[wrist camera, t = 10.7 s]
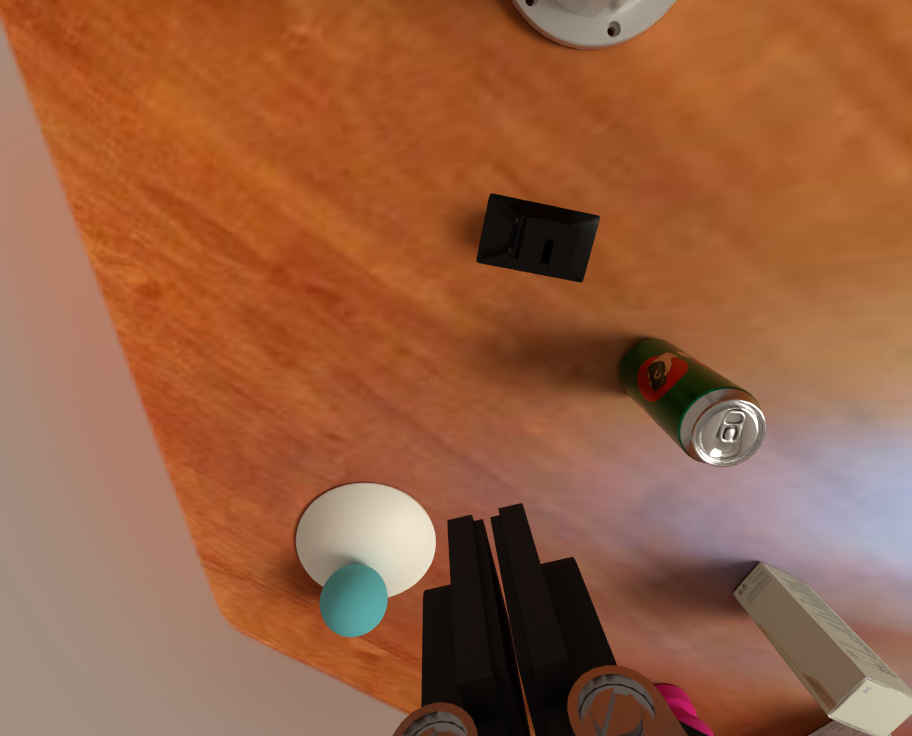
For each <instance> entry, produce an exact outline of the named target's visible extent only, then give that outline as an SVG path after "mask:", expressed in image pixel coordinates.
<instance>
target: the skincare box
mask: <svg viewBox="0 0 912 736" xmlns="http://www.w3.org/2000/svg"><path fill="white" fill-rule="evenodd" d="M733 595H734V596H735V597H736V599H737V600H738V601H739V603H740V604H741V605H742V606H743V608H744V609H745V610H746V611H747V613H748V614H749V615H750V617H751V618H752V619H753V620H754V622H755V623H756V624H757V626H758V627H759V628H760V629H761V631H762V632H763V633H764V635H765V636H766V637H767V638H768V640H769V641H770V642H771V644H772V645H773V646H774V647H775V649H776V650H777V651H778V653H779V654H780V655H781V656H782V658H783V659H784V660H785V662H786V663H787V664H788V665H789V667H790V668H791V669H792V671H793V672H794V673H795V674H796V676H797V677H798V678H799V680H800V681H801V682H802V683H803V685H804V686H805V687H806V689H807V690H808V691H809V692H810V694H811V695H812V696H813V698H814V699H815V700H816V701H817V703H818V704H819V705H820V707H821V708H822V709H823V711H824V712H825V713H826V715H827V716H828V717H830V718H832V719H834V720H836V721H838V722H840V723H843V724H845V725H847V726H850V727H852V728H855V729H857V730H860V731H862V732H865V733H868V734H870V735H873V736H888V735H889V734H890V733H891V732H892V731H893V730H895V729H896V728H897V727H898V726H899V725H900V724H901V723H902V722H903V721H904V720H906V719H907V718H908V717H909V716H910V715H911V714H912V690H911V689H910V688H909V687H908V686H907V685H906V684H905V683H904V682H903V681H902V680H901V679H900V678H899V677H898V676H897V675H896V674H895V673H894V672H893V671H892V670H891V669H890V668H889V667H888V666H887V665H886V664H885V663H884V662H883V661H882V660H881V659H880V658H879V657H878V656H877V655H876V654H875V653H874V652H873V651H872V650H871V649H870V648H869V647H868V646H867V645H866V644H865V643H864V641H863V640H862V639H861V638H860V637H859V636H858V635H857V634H856V633H855V632H854V631H853V630H852V629H851V628H850V627H849V626H848V625H847V624H846V623H845V622H844V621H843V620H842V619H841V618H840V617H839V616H838V615H837V614H836V613H835V612H834V611H833V610H832V609H831V608H830V607H829V606H828V605H827V604H826V603H825V602H824V601H823V600H822V599H821V598H820V597H819V596H818V595H817V594H816V593H815V592H814V591H813V590H812V589H811V588H810V586H809V585H807V584H806V583H804V582H803V581H801V580H799V579H797V578H795V577H793V576H791V575H789V574H787V573H785V572H782V571H780V570H778V569H776V568H774V567H772V566H769V565H767V564H765V563H762V562H760V563H759V564H758V565H757V566H756V567H755V569H754V570H753V571H752V572H751V573H750V574H749V575H748V576H747V578H746V579H745V580H744V581H743V582H742V583H741V585H740V586H739V587H738V588H737V590H736V591H735V592H734V593H733Z"/></svg>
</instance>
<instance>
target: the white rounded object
mask: <svg viewBox="0 0 912 736" xmlns="http://www.w3.org/2000/svg"><path fill="white" fill-rule="evenodd" d="M435 546H436V540H435V532H434V527H433V524H432V522H431V520H430V518H429V516H428V514H427V513H426V511H425V510H424V509H423V507H422V506H421V505H420V504H419V503H418V502H417V501H416V500H414V499H413V498H412V497H410V496H409V495H408V494H406V493H404V492H402V491H400V490H398V489H396V488H393V487H390V486H387V485H384V484H378V483H368V482H362V483H352V484H346V485H343V486H339V487H336V488H334V489H332V490H329V491H328V492H326V493H324V494H323V495H321V496H320V497H318V498H317V499H316V500H315V501H314V502H313V503H312V504H311V505H310V506H309V507H308V508H307V510H306V511H305V513H304V514H303V516H302V518H301V520H300V523H299V526H298V529H297V534H296V547H297V553H298V556H299V559H300V561H301V563H302V565H303V567H304V569H305V570H306V572H307V573H308V574H309V575H310V576H311V577H312V579H313V580H315V581H316V582H317V583H318V584H319V585H321V586H322V587H324V585H325V583H326V581H327V580H328V578H329V577H330V576H331V575H332V574H333V573H334V572H335V571H337V570H338V569H340V568H342V567H344V566H347V565H351V564H362V565H366V566H368V567H371V568H372V569H374V570H375V571H376V572H377V573H378V574H379V575H380V576H381V577H382V579H383V581H384V582H385V585H386V588H387V594H388V597H391V596H394V595H396V594H399V593H401V592H403V591H405V590H407V589H409V588H410V587H411V586H413V585H414V584H415V583H417V582H418V581H419V580H420V579H421V578H422V577H423V575H424V574H425V573H426V571H427V570H428V568H429V567H430V565H431V562H432V560H433V557H434V553H435Z"/></svg>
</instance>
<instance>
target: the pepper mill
mask: <svg viewBox="0 0 912 736" xmlns="http://www.w3.org/2000/svg"><path fill="white" fill-rule="evenodd" d="M654 686H655V687H656V688H657V689H658V690H659V692H660V693H661V695H662V697H663V698H664V700H665V701H666V703H667V704H668V706H669V707H670V709H671V710H672V712H673V714H674V715H675V717H676V718H677V719H678V720H680V721H681V722H683V723H685V724H687V725H689V726H691V727H693V728H695V729H697V730H699V731H701V732H703V733H705V734H706V735H708V736H714V735H713V733H712V731H711V729H710V728H709V727H708V725H707V724H706V723H704V722H703V721H702V720H700V719H699V718H697V716H696V711H695V709H694V707H693V705H692V703H691V701H690V699H689V697H688V695H687V694H686V693H685V691H683V690H682V689H680V688H679V687H676V686H673V685H669V684H659V685H654Z"/></svg>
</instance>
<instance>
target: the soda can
mask: <svg viewBox="0 0 912 736" xmlns="http://www.w3.org/2000/svg"><path fill="white" fill-rule="evenodd" d="M619 380H620V383H621V386H622V387H623V389H624V390H625V391H626V393H627V394H628V395H629V396H630V397H631V398H632V399H633V400H634V401H635V402H636V403H637V404H638V405H639V406H640V407H641V408H642V409H643V410H644V411H645V412H646V413H647V414H648V415H649V416H650V417H651V418H652V419H653V420H654V421H655V422H656V423H657V424H658V425H659V426H660V427H661V428H662V429H663V430H664V431H665V432H666V433H667V434H668V435H669V436H670V437H671V438H672V439H673V440H674V441H675V443H676V444H677V445H678V446H679V447H680V448H681V449H682V450H683V451H684V452H685V453H686V454H687V455H688V456H690V457H691V458H692V459H694V460H696V461H698V462H702V463H707V464H710V465H713V466H717V467H729V466H734V465H737V464H739V463H741V462H744V461H745V460H747V459H748V458H750V457H751V456H752V455H753V454H754V453H755V452H756V451H757V450H758V449H759V447H760V446H761V444H762V442H763V440H764V438H765V434H766V420H765V417H764V414H763V413H762V411H761V409H760V406H759V404H758V402H757V400H756V399H755V398H754V397H753V396H752V395H751V394H750V393H748V392H747V391H746V390H744V389H742V388H741V387H739V386H738V385H736V384H734V383H733V382H731V381H730V380H728V379H726V378H725V377H723V376H722V375H720V374H719V373H717V372H715V371H714V370H712V369H711V368H709V367H707V366H706V365H704V364H703V363H701V362H699V361H698V360H696V359H695V358H693V357H692V356H690V355H688V354H687V353H685V352H684V351H682V350H680V349H679V348H677V347H676V346H674V345H672V344H671V343H669V342H667V341H664V340H659V339H650V340H646V341H643V342H640V343H638V344H636V345H635V346H633V347H632V348H631V349H630V350H629V351H628V352H627V353H626V354H625V356H624V358H623V359H622V361H621V364H620V368H619Z"/></svg>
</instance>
